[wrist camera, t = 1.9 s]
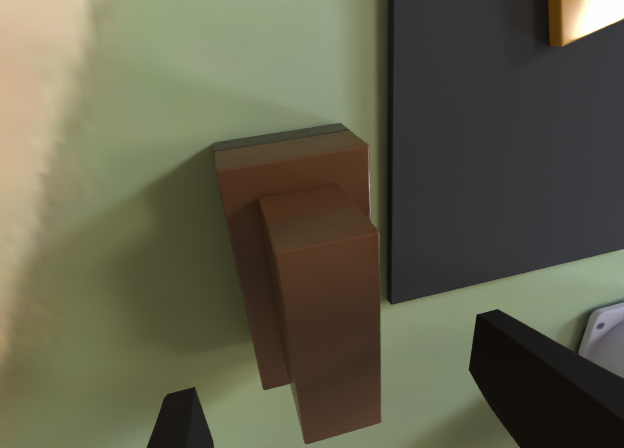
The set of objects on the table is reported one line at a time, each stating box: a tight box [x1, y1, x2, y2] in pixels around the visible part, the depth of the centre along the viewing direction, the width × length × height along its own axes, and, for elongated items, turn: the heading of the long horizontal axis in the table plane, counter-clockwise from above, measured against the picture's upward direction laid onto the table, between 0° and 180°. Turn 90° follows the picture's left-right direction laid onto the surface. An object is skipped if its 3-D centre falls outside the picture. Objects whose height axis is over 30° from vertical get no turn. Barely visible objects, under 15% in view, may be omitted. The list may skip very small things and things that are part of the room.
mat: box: [388, 0, 624, 305], centre depth 15 cm, size 18×14×1 cm
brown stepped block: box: [213, 123, 381, 444], centre depth 13 cm, size 9×4×6 cm, turn 6°
